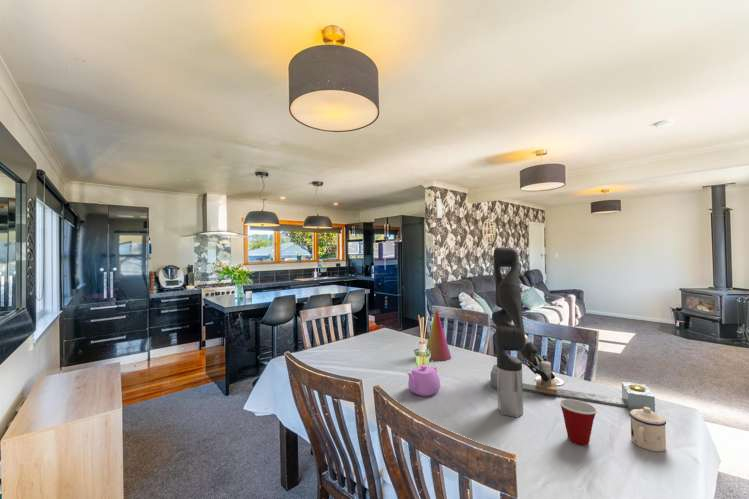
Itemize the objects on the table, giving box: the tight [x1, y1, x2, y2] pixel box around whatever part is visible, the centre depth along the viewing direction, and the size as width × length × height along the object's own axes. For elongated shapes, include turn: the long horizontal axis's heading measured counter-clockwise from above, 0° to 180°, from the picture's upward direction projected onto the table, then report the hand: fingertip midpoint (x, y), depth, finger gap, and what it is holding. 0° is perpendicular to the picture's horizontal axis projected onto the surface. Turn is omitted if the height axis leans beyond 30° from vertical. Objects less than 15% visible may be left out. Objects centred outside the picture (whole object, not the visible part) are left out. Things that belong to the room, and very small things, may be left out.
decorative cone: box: [426, 306, 452, 362], centre depth 196 cm, size 16×16×30 cm
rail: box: [490, 364, 656, 413], centre depth 142 cm, size 12×59×8 cm, turn 62°
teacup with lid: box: [629, 407, 667, 452], centre depth 105 cm, size 12×9×12 cm
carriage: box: [535, 360, 558, 394], centre depth 145 cm, size 9×8×12 cm
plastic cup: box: [558, 398, 598, 447], centre depth 108 cm, size 11×11×12 cm
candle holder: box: [534, 371, 564, 386], centre depth 157 cm, size 12×12×4 cm
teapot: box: [406, 364, 441, 397], centre depth 148 cm, size 20×13×12 cm, turn 131°
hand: (550, 379), depth 144 cm, fingers closed on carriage, 4 cm apart
